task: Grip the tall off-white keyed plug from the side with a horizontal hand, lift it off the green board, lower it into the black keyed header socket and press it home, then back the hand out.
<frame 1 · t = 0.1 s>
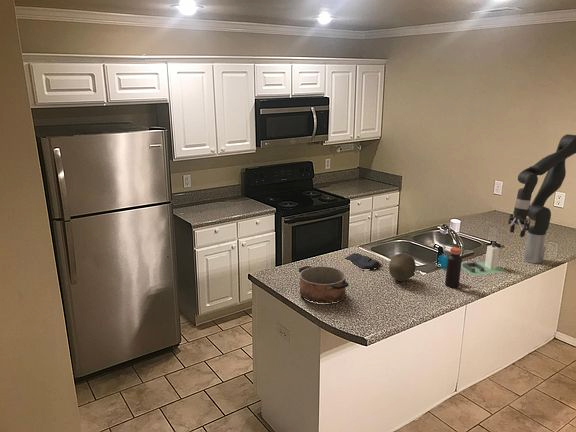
hand: (516, 234, 260), 17 cm above the countertop, tool pointing down, fingers open, 8 cm apart
plug: (490, 267, 255), point 1 cm above the countertop, touching board
cantaloupe: (401, 281, 241), on the countertop
bottle: (451, 285, 235), on the countertop
header: (473, 268, 253), resting on board
cast iron trivet: (362, 264, 265), on the countertop
cooking pot: (322, 295, 225), on the countertop
gear: (445, 269, 257), on the countertop
board: (480, 270, 254), on the countertop
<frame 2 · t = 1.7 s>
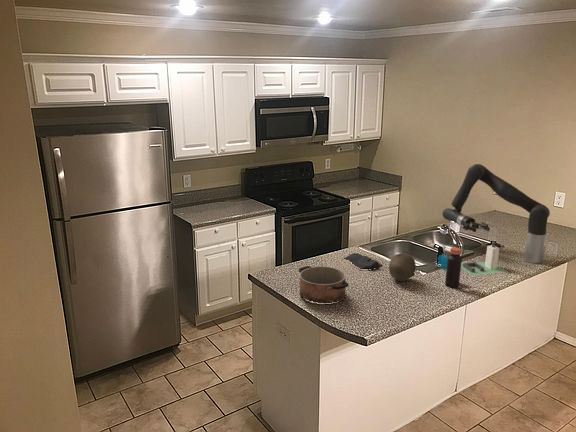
hand: (482, 229, 261), 20 cm above the countertop, tool horizontal, fingers open, 8 cm apart
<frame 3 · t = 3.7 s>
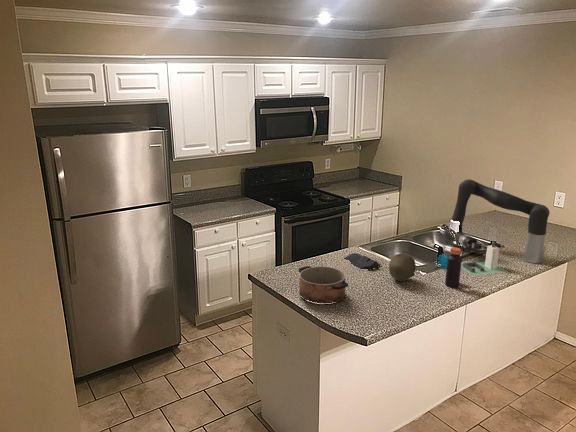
hand: (484, 251, 260), 8 cm above the countertop, tool horizontal, fingers open, 8 cm apart
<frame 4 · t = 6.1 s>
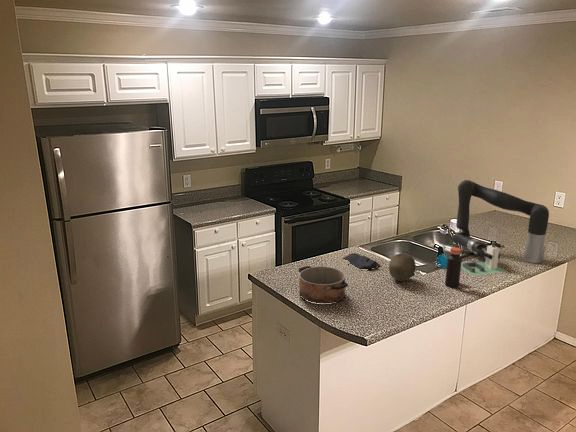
hand: (495, 257, 251), 8 cm above the countertop, tool horizontal, fingers closed on plug, 4 cm apart
plug: (490, 267, 255), point 1 cm above the countertop, touching board, gripper
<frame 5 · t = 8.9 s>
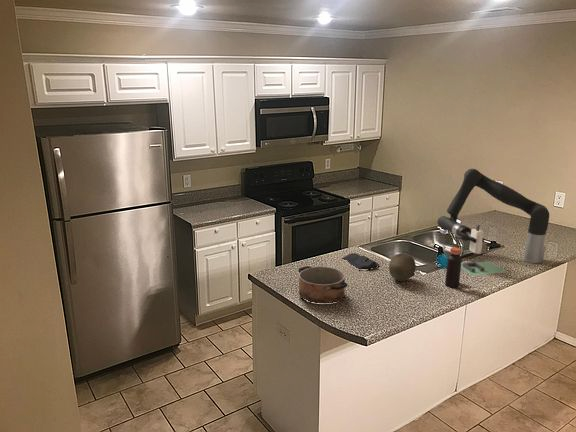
hand: (479, 240, 246), 19 cm above the countertop, tool horizontal, fingers closed on plug, 4 cm apart
plug: (475, 251, 250), point 12 cm above the countertop, touching gripper
when the fingers open (8 cm above the countertop, at t = 11.7 s): plug stays where it is, resting on board.
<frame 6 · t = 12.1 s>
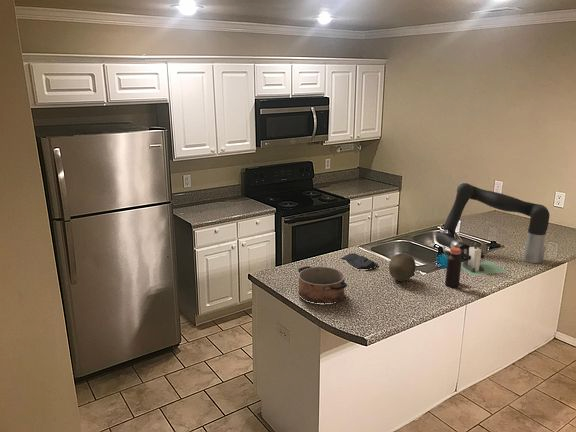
hand: (476, 257, 249), 9 cm above the countertop, tool horizontal, fingers open, 7 cm apart
plug: (473, 268, 253), point 1 cm above the countertop, touching board
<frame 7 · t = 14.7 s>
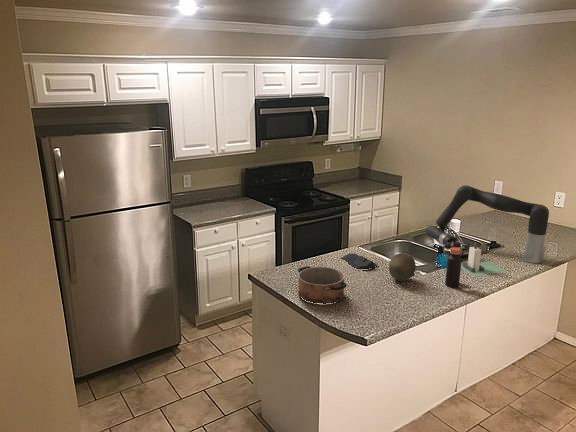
hand: (463, 249, 261), 9 cm above the countertop, tool horizontal, fingers open, 8 cm apart
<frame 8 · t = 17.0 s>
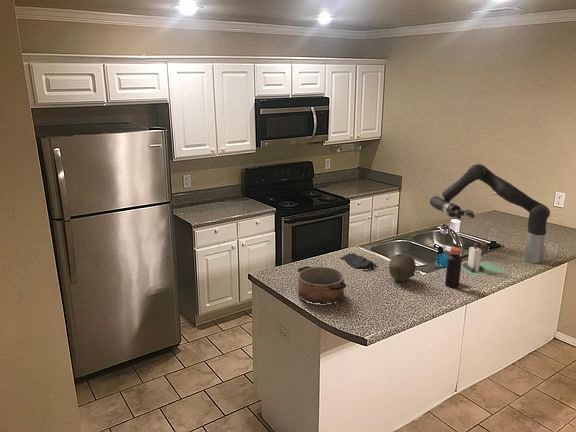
hand: (467, 216, 264), 26 cm above the countertop, tool horizontal, fingers open, 8 cm apart
at the end: plug 0.0 cm off-centre on the header, point 0.0 cm above the header's base; plug tilted 0°; the gripper is holding nothing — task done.
